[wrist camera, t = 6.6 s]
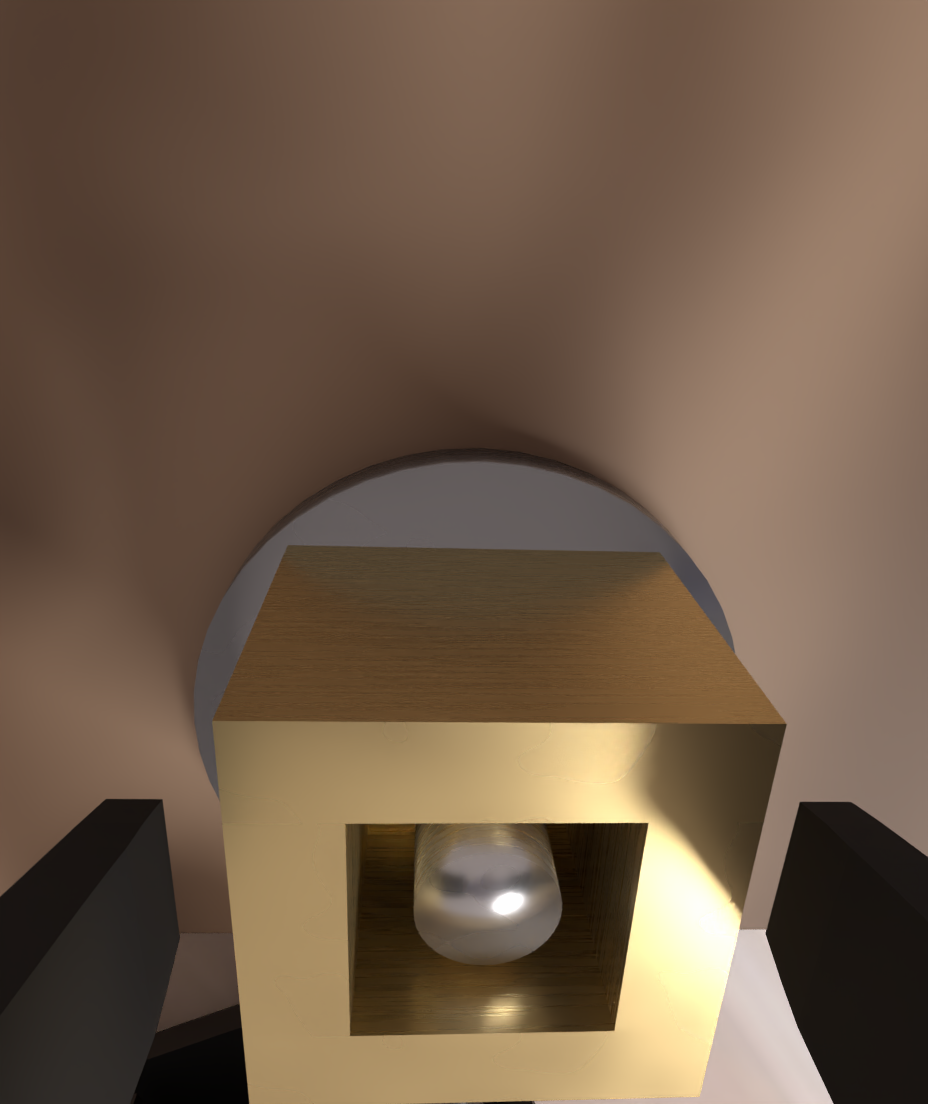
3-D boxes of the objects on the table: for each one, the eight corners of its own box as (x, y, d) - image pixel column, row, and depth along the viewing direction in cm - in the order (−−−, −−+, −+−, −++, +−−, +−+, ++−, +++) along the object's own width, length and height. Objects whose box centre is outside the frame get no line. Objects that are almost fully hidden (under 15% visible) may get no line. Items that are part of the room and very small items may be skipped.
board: (1517, -331, 9) (1592, -370, 8) (1009, 902, 15) (1031, 927, 15) (-425, -533, 7) (-494, -595, 7) (-43, 907, 14) (-62, 934, 14)
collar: (660, 552, 11) (787, 723, 7) (617, 840, 12) (699, 1095, 9) (287, 545, 10) (212, 720, 7) (302, 841, 12) (250, 1107, 8)
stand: (763, 457, 11) (948, 579, 7) (679, 888, 14) (776, 1139, 10) (185, 438, 10) (45, 560, 7) (226, 890, 14) (147, 1155, 10)
